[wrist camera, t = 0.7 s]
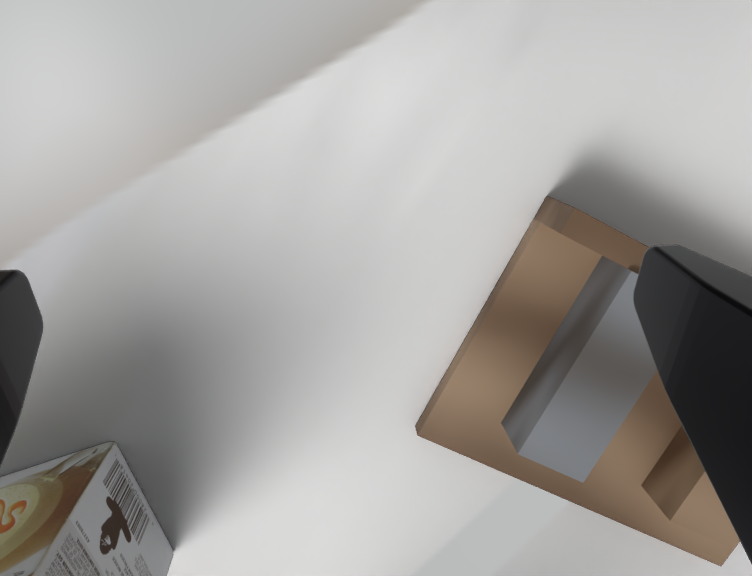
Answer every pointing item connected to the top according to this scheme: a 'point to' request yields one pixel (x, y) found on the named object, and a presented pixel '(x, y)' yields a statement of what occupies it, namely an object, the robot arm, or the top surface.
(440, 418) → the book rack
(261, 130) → the top surface
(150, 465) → the top surface
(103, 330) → the top surface
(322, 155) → the top surface
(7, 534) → the coffee box
